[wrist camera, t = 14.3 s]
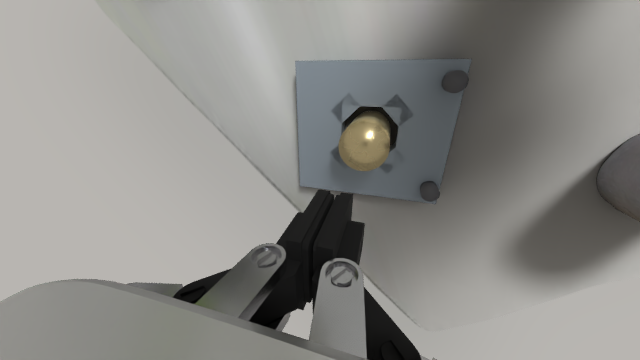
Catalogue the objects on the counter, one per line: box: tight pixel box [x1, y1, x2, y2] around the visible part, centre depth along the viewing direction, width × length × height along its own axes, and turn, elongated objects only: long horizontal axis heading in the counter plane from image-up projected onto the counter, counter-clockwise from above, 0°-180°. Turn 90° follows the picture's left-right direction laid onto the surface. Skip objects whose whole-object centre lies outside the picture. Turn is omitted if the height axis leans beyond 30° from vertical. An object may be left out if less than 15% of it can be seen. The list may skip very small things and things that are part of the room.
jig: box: [295, 59, 472, 204], centre depth 28 cm, size 18×16×4 cm
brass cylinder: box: [339, 111, 390, 171], centre depth 26 cm, size 5×5×8 cm
